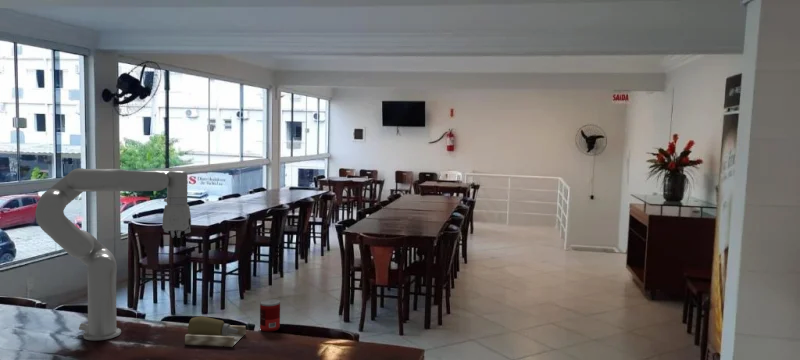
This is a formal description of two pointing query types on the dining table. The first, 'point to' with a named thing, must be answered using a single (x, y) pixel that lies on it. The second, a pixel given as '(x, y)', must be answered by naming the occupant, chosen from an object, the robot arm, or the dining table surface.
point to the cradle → (216, 338)
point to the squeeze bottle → (209, 327)
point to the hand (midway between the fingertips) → (177, 247)
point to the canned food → (269, 315)
